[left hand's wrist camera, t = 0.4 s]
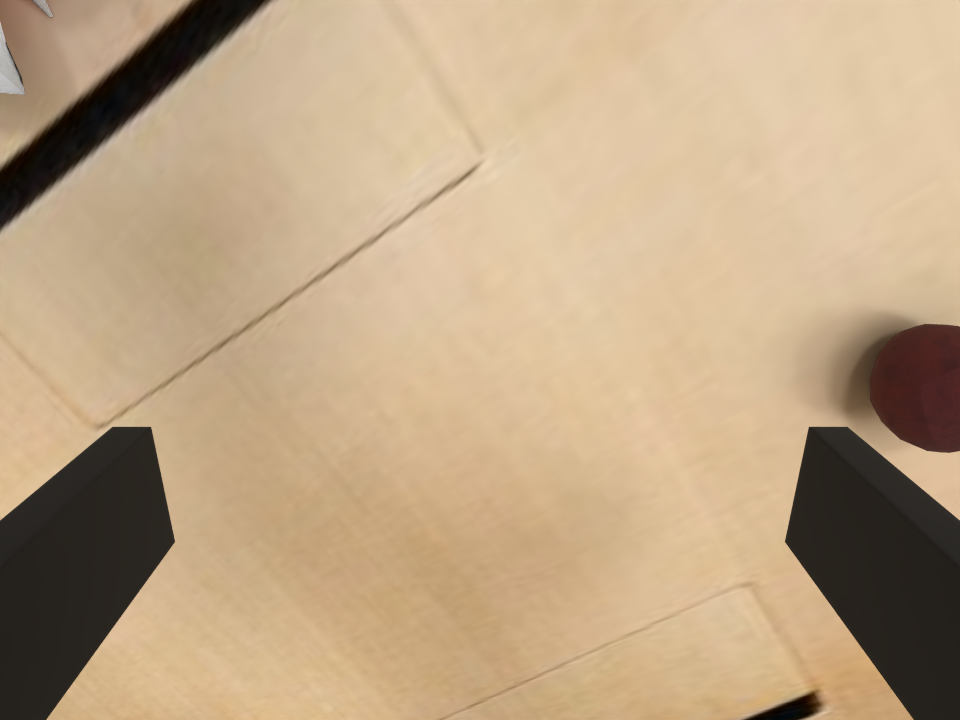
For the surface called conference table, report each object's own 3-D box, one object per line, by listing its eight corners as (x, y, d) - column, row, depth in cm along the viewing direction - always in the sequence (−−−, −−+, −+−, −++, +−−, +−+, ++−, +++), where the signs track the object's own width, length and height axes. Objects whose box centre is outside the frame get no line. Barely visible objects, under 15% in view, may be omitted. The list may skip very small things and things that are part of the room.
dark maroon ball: (868, 436, 43) (938, 493, 36) (828, 345, 41) (895, 388, 34) (975, 384, 42) (1068, 434, 35) (940, 287, 39) (1033, 320, 33)
